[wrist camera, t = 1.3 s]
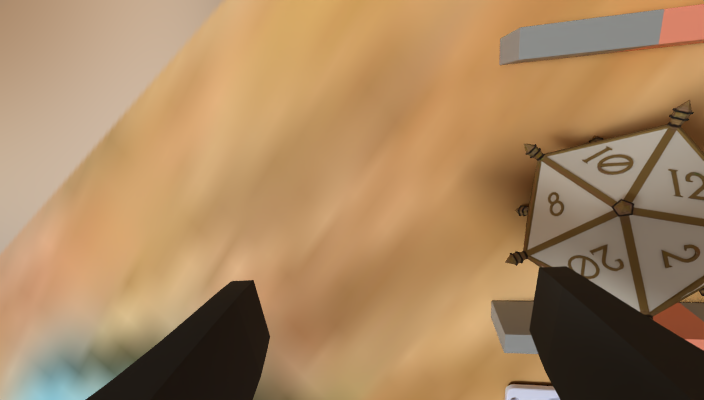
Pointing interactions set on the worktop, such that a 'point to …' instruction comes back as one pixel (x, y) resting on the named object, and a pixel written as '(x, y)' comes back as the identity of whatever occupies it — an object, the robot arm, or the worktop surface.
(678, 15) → the trap track
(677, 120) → the game die
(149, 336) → the worktop surface
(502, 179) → the worktop surface
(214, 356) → the robot arm
